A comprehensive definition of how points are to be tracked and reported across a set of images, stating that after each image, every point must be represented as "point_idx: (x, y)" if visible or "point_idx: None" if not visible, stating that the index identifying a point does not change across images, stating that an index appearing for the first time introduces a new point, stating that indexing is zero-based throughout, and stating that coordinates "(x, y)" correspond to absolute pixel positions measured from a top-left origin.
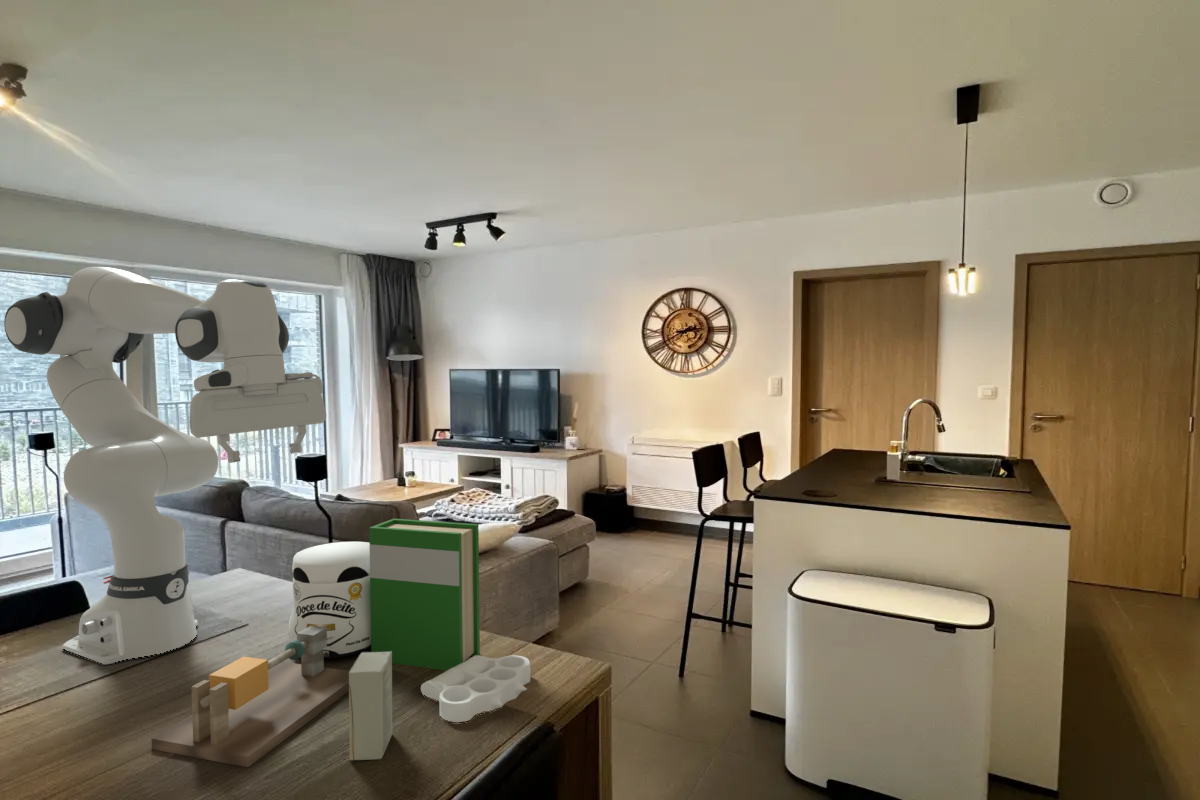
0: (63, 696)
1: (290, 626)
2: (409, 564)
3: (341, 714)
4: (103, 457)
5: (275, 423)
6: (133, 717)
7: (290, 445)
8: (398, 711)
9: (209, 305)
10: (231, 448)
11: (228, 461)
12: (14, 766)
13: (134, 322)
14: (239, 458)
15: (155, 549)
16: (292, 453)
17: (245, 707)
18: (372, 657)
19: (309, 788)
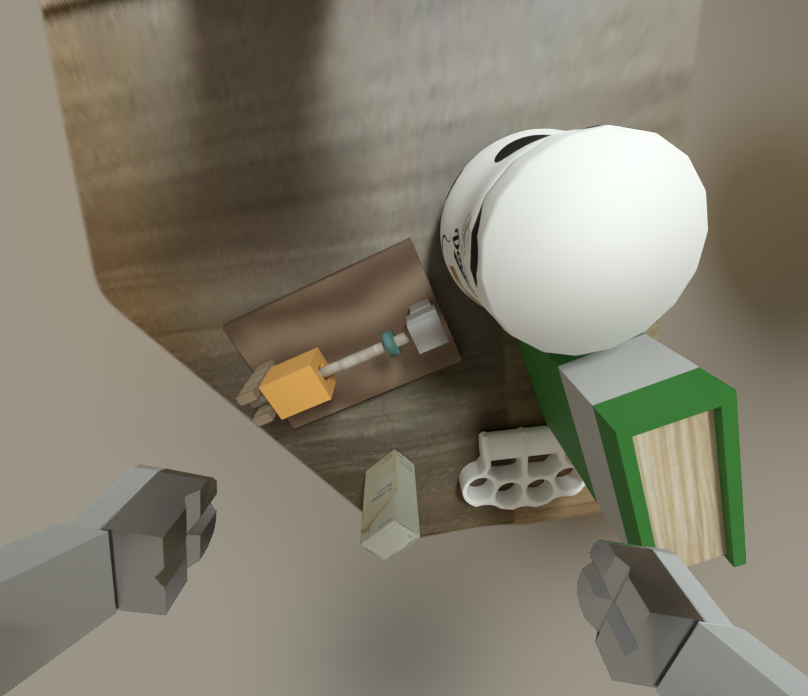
0: (118, 27)
1: (446, 212)
2: (593, 457)
3: (401, 402)
4: None
5: None
6: (215, 219)
7: (627, 619)
8: (443, 437)
9: None
10: (76, 641)
11: (138, 466)
12: (92, 240)
13: None
14: (198, 552)
15: None
16: (578, 581)
17: (322, 337)
18: (396, 535)
19: (325, 478)
